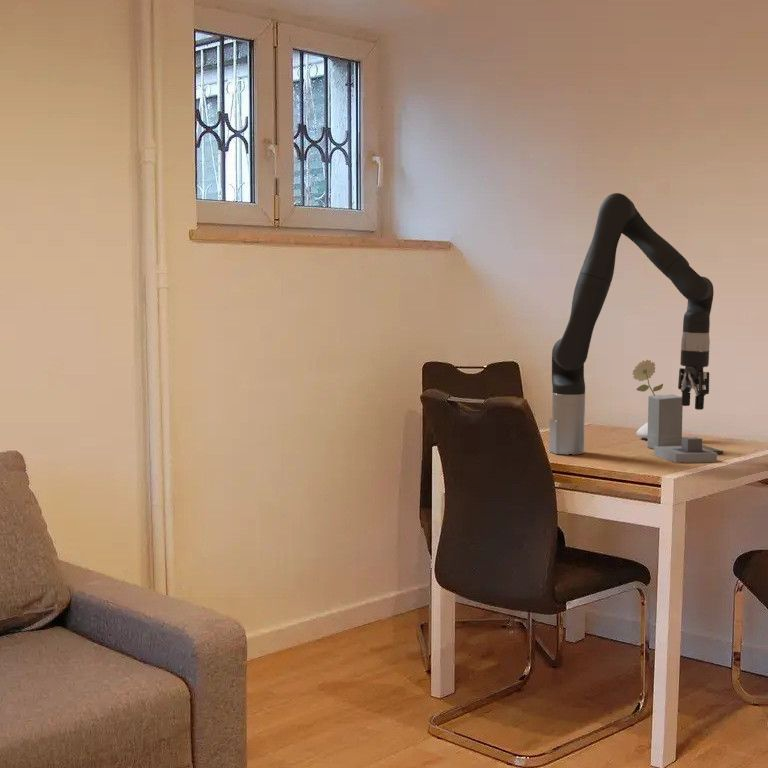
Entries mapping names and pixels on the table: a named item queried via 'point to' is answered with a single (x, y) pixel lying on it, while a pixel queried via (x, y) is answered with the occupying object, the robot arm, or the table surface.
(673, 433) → the skincare box
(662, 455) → the outlet plate
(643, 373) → the flower in vase
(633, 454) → the table surface
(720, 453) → the phone
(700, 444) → the block
